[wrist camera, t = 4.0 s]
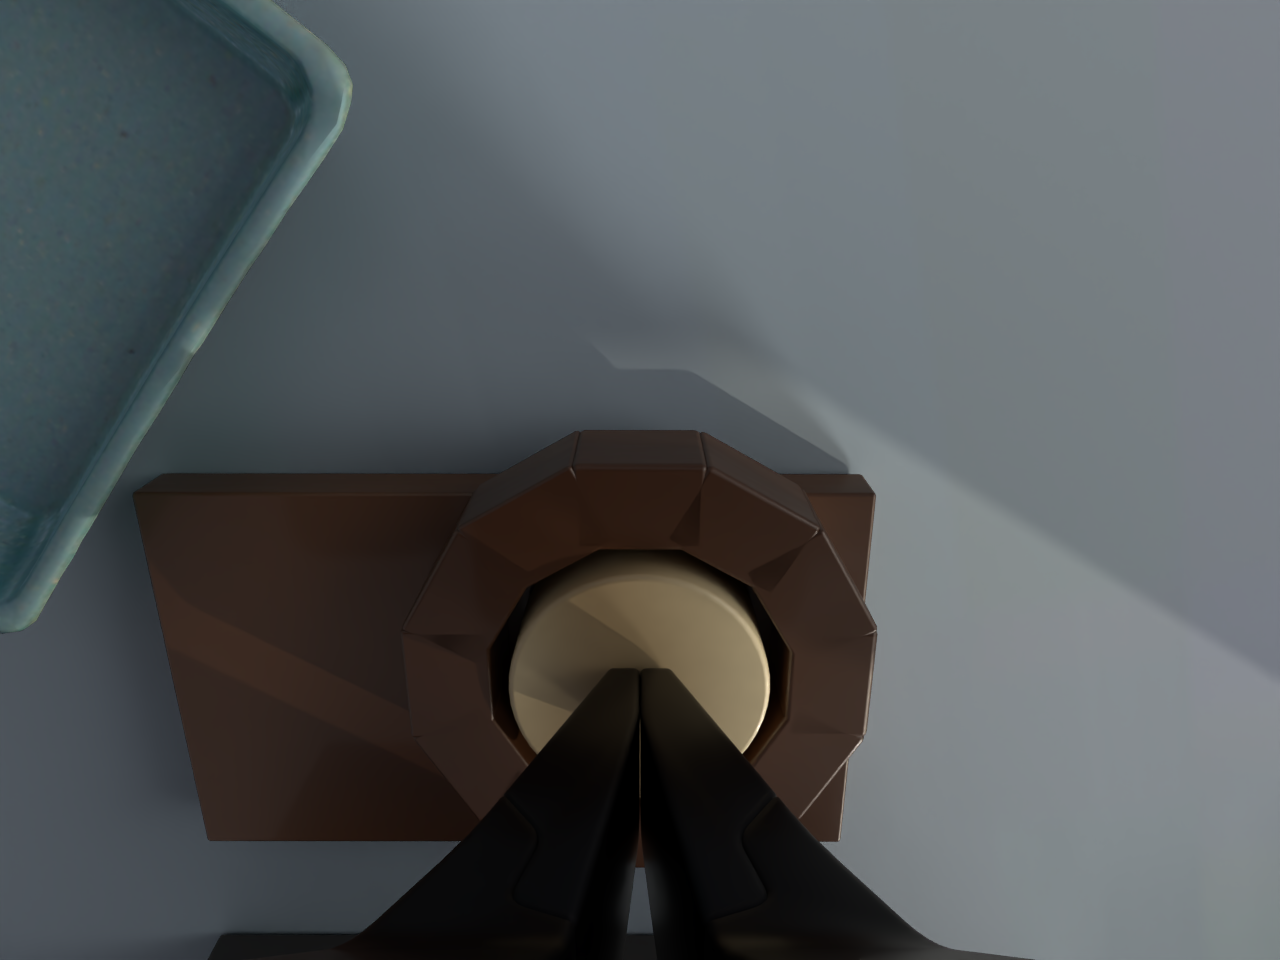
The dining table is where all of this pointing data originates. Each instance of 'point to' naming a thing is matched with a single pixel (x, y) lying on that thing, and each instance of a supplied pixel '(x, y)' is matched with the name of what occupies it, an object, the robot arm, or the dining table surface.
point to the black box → (238, 948)
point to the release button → (639, 639)
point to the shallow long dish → (130, 231)
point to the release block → (477, 624)
